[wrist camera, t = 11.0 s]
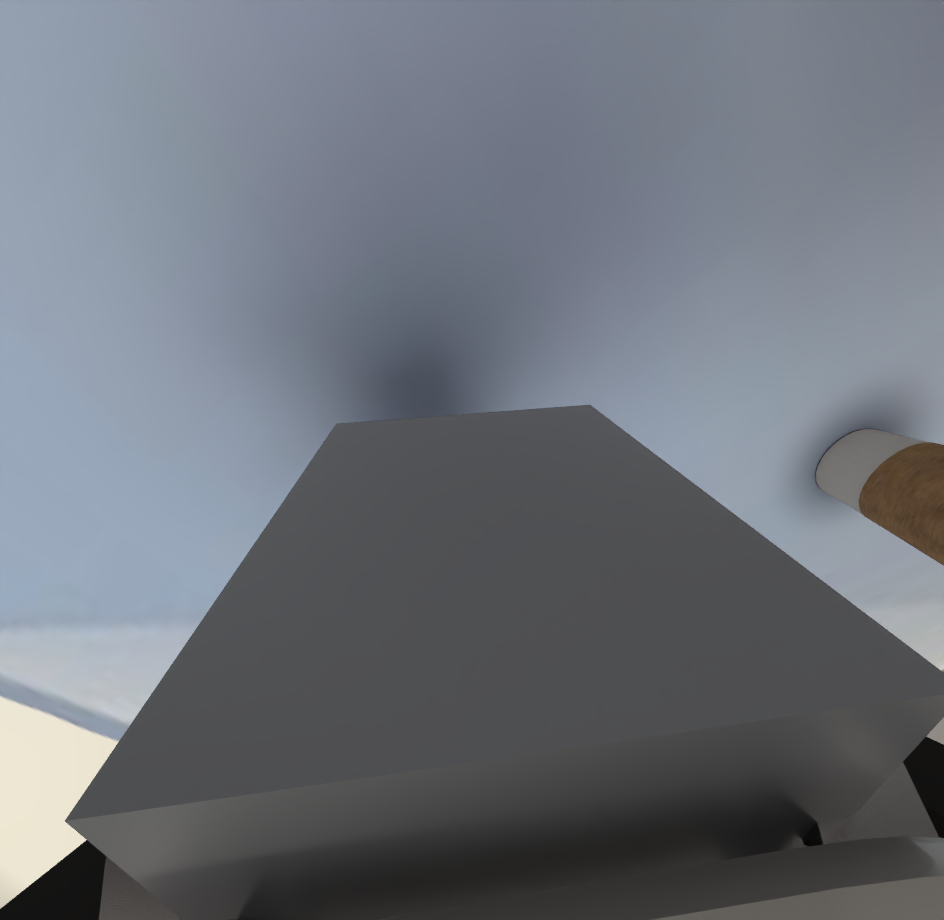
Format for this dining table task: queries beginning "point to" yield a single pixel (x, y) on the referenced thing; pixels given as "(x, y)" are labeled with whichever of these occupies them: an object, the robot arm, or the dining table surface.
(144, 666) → the dining table surface
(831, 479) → the coffee cup
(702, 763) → the grey cubic block
